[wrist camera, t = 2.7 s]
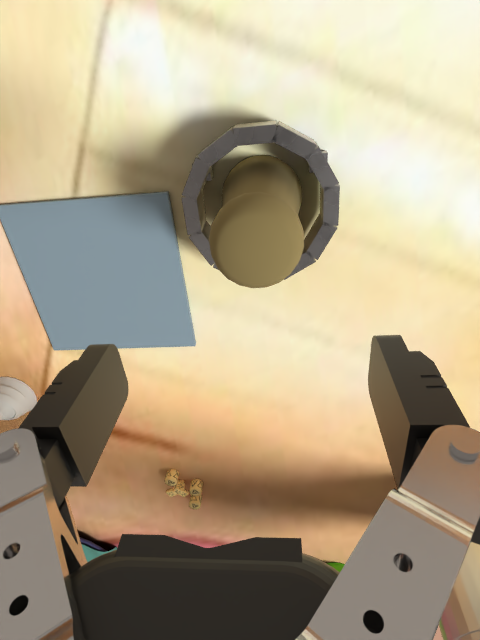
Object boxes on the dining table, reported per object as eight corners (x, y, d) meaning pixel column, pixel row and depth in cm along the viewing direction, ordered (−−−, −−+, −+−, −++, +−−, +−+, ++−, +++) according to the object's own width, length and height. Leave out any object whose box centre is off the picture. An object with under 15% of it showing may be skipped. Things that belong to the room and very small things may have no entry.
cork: (211, 167, 29) (180, 210, 19) (293, 144, 27) (302, 178, 18) (233, 244, 32) (216, 313, 22) (309, 227, 30) (323, 292, 21)
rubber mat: (168, 191, 30) (167, 192, 29) (195, 343, 37) (195, 345, 37) (-3, 204, 31) (-6, 206, 31) (56, 347, 39) (54, 350, 38)
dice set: (169, 463, 47) (165, 477, 46) (210, 473, 48) (208, 487, 46) (162, 487, 50) (158, 501, 48) (201, 497, 50) (198, 511, 49)
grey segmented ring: (334, 113, 26) (342, 118, 23) (330, 260, 32) (336, 279, 29) (182, 127, 27) (171, 134, 24) (203, 267, 33) (196, 285, 30)
